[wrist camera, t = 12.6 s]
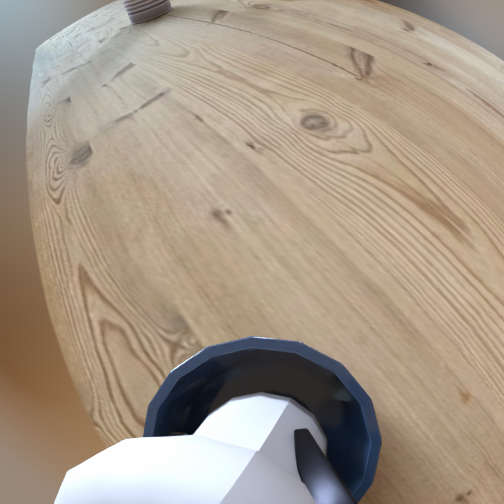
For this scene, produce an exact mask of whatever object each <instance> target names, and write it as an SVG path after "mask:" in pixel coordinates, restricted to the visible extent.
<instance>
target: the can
mask: <svg viewBox="0 0 504 504" xmlns="http://www.w3.org/2000/svg"><path fill="white" fill-rule="evenodd" d="M123 3H124V5H125V8H126V10H127V13H128V15H129V18H130V20H131V23H132V24H137V23H142V22H145V21H148V20H150V19H153V18H156V17H158V16H160V15H162V14H165V13H167V12H168V11H169V10H171V9H172V7H171V4H170V1H169V0H123Z"/></svg>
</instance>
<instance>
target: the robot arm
mask: <svg viewBox="0 0 504 504" xmlns="http://www.w3.org/2000/svg"><path fill="white" fill-rule="evenodd" d="M186 435H187V434H186V433H184V432H173V433H172V434H171V435H170V436H186ZM170 436H169V437H170ZM294 448H295V458H296V465H297V470H298V473H299V476H300V479H301V482H303V483H304V484H305V485H306V487H307V489H308V490H309V492H310V494H311V496H312V497H313V499H314V501H315V502H316V504H358V503H357V502H356V500H355V499H354V497H353V496H352V495H351V493H350V492H349V490H348V489H347V487H346V486H345V484H344V483H343V481H342V480H341V478H340V477H339V475H338V474H337V473H336V471H335V470H334V468H333V467H332V465H331V464H330V462H329V460H328V459H327V457H326V456H325V454H324V453H323V451H322V450H321V448H320V447H319V445H318V444H317V442H316V441H315V439H314V437H313V436H312V434H311V433H310V431H309V430H308V429H307V428H302V429H295V430H294Z"/></svg>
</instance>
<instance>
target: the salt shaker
mask: <svg viewBox="0 0 504 504" xmlns="http://www.w3.org/2000/svg"><path fill="white" fill-rule="evenodd" d="M302 428H307V429H308V430H309V431H310V433H311V434H312V436H313V437H314V439H315V441H316V442H317V444H318V445H319V447H320V448H321V450H322V451H323V453H324V454H325V456H326V457H327V437H326V435H325V433H324V432H323V430H322V428H321V426H320V424H319V423H318V421H317V419H316V417H315V415H314V414H313V413H311V412H310V411H308V410H307V409H306V408H304V407H303V406H301V405H300V404H299V403H297V402H296V401H295V400H293V399H292V398H289V397H284V396H279V395H273V394H269V393H264V392H259V393H254V394H249V395H244V396H239V397H233V398H231V399H230V400H229V401H227V402H226V403H224V404H223V405H222V406H220V407H219V408H217V409H216V410H214V411H213V412H211V413H210V414H209V415H208V417H207V418H206V419H205V420H204V422H203V423H202V424H201V425H200V427H199V428H198V429H197V430H196V432H195V433H194V434H193V435H186V436H170V437H144V438H134V439H125V440H123V441H121V442H119V443H118V444H116V445H114V446H112V447H110V448H108V449H106V450H104V451H102V452H101V453H99V454H97V455H95V456H94V457H92V458H90V459H89V460H87V461H85V462H83V463H81V464H80V465H78V466H76V467H75V468H73V469H71V470H69V471H67V473H66V476H65V478H64V480H63V483H62V485H61V488H60V490H59V492H58V495H57V497H56V500H55V502H54V504H316V502H315V501H314V499H313V497H312V496H311V494H310V492H309V490H308V489H307V487H306V485H305V484H304V483H303V482H301V479H300V476H299V473H298V470H297V465H296V458H295V448H294V430H295V429H302Z"/></svg>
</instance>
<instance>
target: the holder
mask: <svg viewBox="0 0 504 504" xmlns="http://www.w3.org/2000/svg"><path fill="white" fill-rule="evenodd" d="M259 392H264V393H269V394H273V395H279V396H284V397H289V398H292V399H293V400H295V401H296V402H297V403H299V404H300V405H301V406H303V407H304V408H306V409H307V410H308V411H310V412H311V413H313V414H314V415H315V417H316V419H317V421H318V423H319V424H320V426H321V428H322V430H323V432H324V433H325V435H326V437H327V459H328V460H329V462H330V464H331V465H332V467H333V468H334V470H335V471H336V473H337V474H338V475H339V477H340V478H341V480H342V481H343V483H344V484H345V486H346V487H347V489H348V490H349V492H350V493H351V495H352V496H353V497H354V499H355V500H356V502H357V503H359V501H360V500H361V499H362V497H363V496H364V495H365V493H366V492H367V491H368V489H369V488H370V486H371V485H372V483H373V480H374V476H375V472H376V468H377V463H378V458H379V453H380V448H381V443H382V441H381V440H382V438H381V434H380V430H379V426H378V422H377V418H376V415H375V411H374V407H373V403H372V400H371V398H370V396H369V395H368V394H367V393H366V392H365V390H364V389H363V388H362V387H361V386H360V384H359V383H358V382H357V381H356V380H355V378H354V377H353V376H352V375H351V374H350V372H349V371H348V370H347V369H346V368H345V366H344V365H343V364H341V363H340V362H338V361H336V360H334V359H332V358H330V357H328V356H326V355H324V354H322V353H321V352H319V351H317V350H315V349H313V348H311V347H309V346H307V345H305V344H303V343H302V342H298V341H289V340H280V339H272V338H264V337H256V336H253V337H252V336H250V337H246V338H242V339H238V340H234V341H230V342H225V343H221V344H216V345H212V346H208V347H206V348H204V349H203V350H201V351H200V352H199V353H197V354H196V355H194V356H193V357H191V358H190V359H188V360H187V361H185V362H184V363H182V364H181V365H179V366H178V367H176V368H175V369H173V370H172V371H171V372H170V373H169V375H168V376H167V378H166V379H165V381H164V382H163V384H162V385H161V387H160V388H159V390H158V392H157V393H156V395H155V396H154V398H153V399H152V401H151V402H150V404H149V406H148V410H147V416H146V421H145V427H144V434H143V438H144V437H169V436H170V435H171V434H172V433H173V432H184V433H186V434H187V435H193V434H194V433H195V432H196V430H197V429H198V428H199V427H200V425H201V424H202V423H203V422H204V420H205V419H206V418H207V417H208V415H209V414H210V413H211V412H213V411H214V410H216V409H217V408H219V407H220V406H222V405H223V404H224V403H226V402H227V401H229V400H230V399H231V398H233V397H239V396H244V395H249V394H254V393H259Z"/></svg>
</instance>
